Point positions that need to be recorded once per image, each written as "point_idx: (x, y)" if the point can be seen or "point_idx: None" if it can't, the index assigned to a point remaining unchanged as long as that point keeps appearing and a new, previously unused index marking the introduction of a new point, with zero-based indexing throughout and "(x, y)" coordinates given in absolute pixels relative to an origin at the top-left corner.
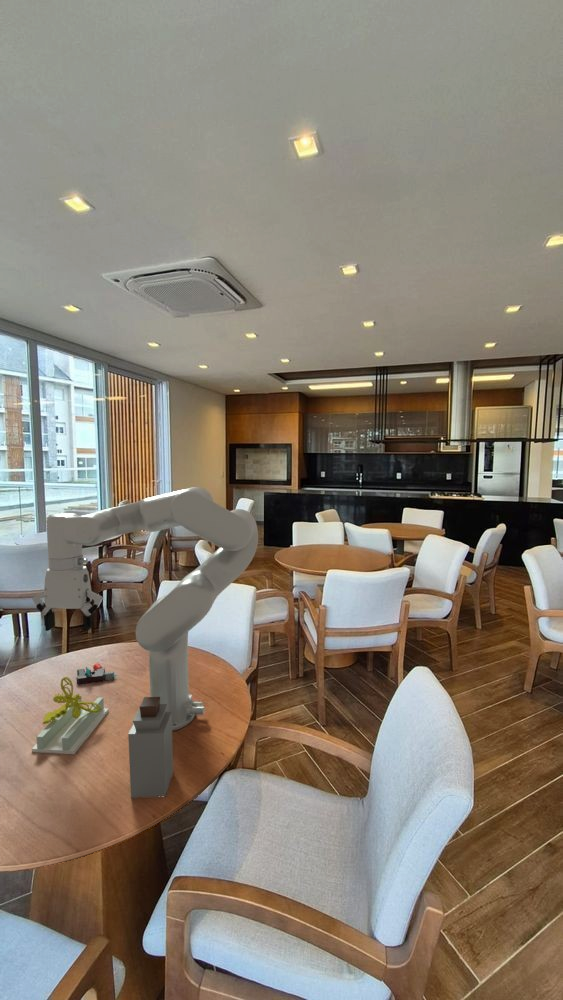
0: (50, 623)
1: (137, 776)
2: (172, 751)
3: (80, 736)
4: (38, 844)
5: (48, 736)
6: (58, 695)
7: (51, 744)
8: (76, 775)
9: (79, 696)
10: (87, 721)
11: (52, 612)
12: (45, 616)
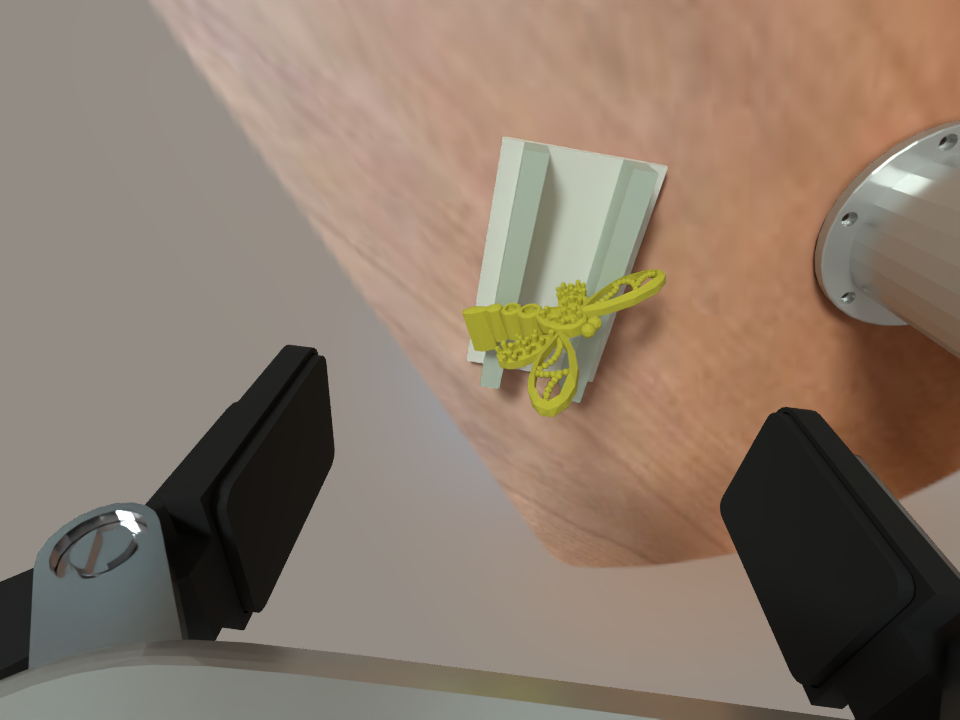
0: (305, 476)
1: None
2: (895, 500)
3: None
4: (592, 551)
5: None
6: (517, 365)
7: None
8: (617, 438)
9: (595, 328)
10: None
11: (213, 526)
12: (229, 618)
